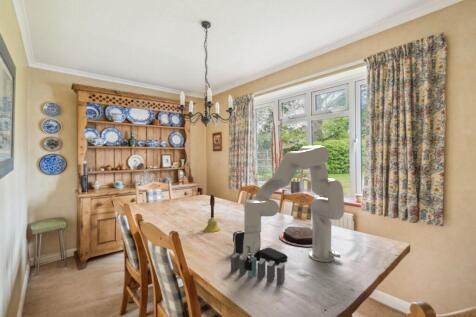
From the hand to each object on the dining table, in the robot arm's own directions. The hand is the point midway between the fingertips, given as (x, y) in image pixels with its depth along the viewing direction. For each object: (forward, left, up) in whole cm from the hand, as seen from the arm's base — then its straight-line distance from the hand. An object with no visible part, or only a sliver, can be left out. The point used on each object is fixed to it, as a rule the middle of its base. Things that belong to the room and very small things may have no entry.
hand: (252, 265), depth 106 cm
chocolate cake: (-11, -55, -5) cm, 56 cm away
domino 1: (+9, 0, -4) cm, 10 cm away
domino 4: (-4, 0, -4) cm, 6 cm away
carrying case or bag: (-3, -21, -5) cm, 22 cm away
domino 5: (-9, 0, -4) cm, 10 cm away
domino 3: (0, 0, -4) cm, 4 cm away
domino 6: (-13, 0, -4) cm, 14 cm away
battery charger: (+16, -19, -4) cm, 25 cm away
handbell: (+50, -44, -4) cm, 67 cm away
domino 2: (+5, 0, -4) cm, 6 cm away
